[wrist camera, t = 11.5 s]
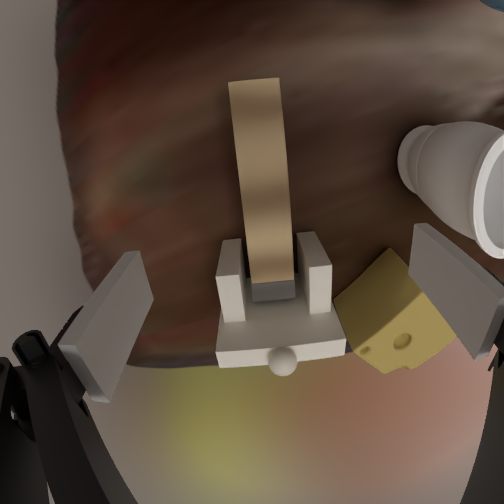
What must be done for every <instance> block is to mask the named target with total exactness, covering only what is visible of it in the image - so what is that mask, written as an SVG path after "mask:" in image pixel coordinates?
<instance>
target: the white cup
mask: <svg viewBox="0 0 504 504" xmlns="http://www.w3.org/2000/svg"><path fill="white" fill-rule="evenodd" d="M397 163H398V170H399V174H400V177H401V179H402V181H403V183H404V184H405V185H406V187H407V188H408V189H409V190H411V191H412V192H413V193H415V194H417V195H418V196H419V197H420V198H421V200H422V201H423V202H424V203H425V204H426V205H427V206H428V207H429V208H430V209H431V210H432V211H433V212H434V213H435V214H436V215H437V216H438V217H439V218H440V219H441V220H442V221H443V222H444V223H446V224H447V225H448V226H450V227H451V228H453V229H454V230H456V231H458V232H459V233H461V234H463V235H465V236H467V237H469V238H472V239H474V240H476V242H477V244H478V245H479V246H480V247H481V248H482V249H483V250H484V251H485V252H486V253H487V254H489V255H490V256H492V257H495V258H500V259H501V258H504V131H503V130H501V129H499V128H496V127H494V126H491V125H487V124H484V123H479V122H470V121H462V122H454V123H446V124H439V125H436V126H429V125H424V126H419V127H417V128H415V129H413V130H412V131H410V132H409V133H408V134H407V135H406V136H405V138H404V139H403V141H402V143H401V145H400V148H399V152H398V159H397Z"/></svg>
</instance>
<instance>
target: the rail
mask: <svg viewBox="0 0 504 504" xmlns="http://www.w3.org/2000/svg"><path fill="white" fill-rule="evenodd" d="M228 87H229V96H230V105H231V113H232V122H233V131H234V139H235V148H236V156H237V165H238V173H239V182H240V190H241V199H242V207H243V216H244V224H245V232H246V241H247V249H248V257H249V266H250V274H251V287H252V295H253V302H258V301H269V300H279V299H289V298H295V279H294V265H293V245H292V227H291V210H290V195H289V181H288V168H287V156H286V144H285V133H284V122H283V112H282V102H281V92H280V83H279V78H266V79H254V80H244V81H235V82H228Z"/></svg>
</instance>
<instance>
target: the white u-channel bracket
mask: <svg viewBox="0 0 504 504" xmlns="http://www.w3.org/2000/svg"><path fill="white" fill-rule="evenodd" d="M296 238H297V259H298V273H294V279H295V298H289V299H279V300H269V301H258V302H253V295H252V287H251V278H246V272H245V264H244V256H243V249H242V241H241V238H240V239H230V240H223V242H222V247H221V252H220V257H219V262H218V267H217V272H216V281H217V287H218V292H219V297H220V302H221V314H220V321H219V329H218V337H217V345H216V356H217V359H218V363H219V367H220V368H228V367H245V366H258V365H269V368H270V369H271V371H272V372H273V373H275V374H277V375H279V376H286V375H289V374H291V373H292V372H293V371H294V370H295V369H296V366H297V362H298V361H307V360H314V359H322V358H329V357H335V356H342V355H344V353H345V345H346V337H345V334H344V332H343V329H342V326H341V324H340V321H339V319H338V316H337V314H336V311H335V308H334V306H333V303H332V301H331V287H332V264H331V262H330V260H329V258H328V256H327V254H326V252H325V251H324V249H323V247H322V245H321V243H320V241H319V239H318V237H317V235H316V234H315V232H314V231H311V232H301V233H296Z"/></svg>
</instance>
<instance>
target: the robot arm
mask: <svg viewBox="0 0 504 504" xmlns="http://www.w3.org/2000/svg"><path fill="white" fill-rule="evenodd" d="M480 1H481V2H482V3H484V4H485V5H487V6H489V7H491V8H493V9H495V10H499V11H502V12H504V0H480ZM408 274H409V276H410V277H411V278H412V279H413V280H414V282H415V283H416V284H417V285H418V286H419V288H420V289H421V290H422V291H423V293H424V294H425V295H426V296H427V297H428V299H429V300H430V301H431V302H432V304H433V305H434V306H435V308H436V309H437V310H438V311H439V313H440V314H441V315H442V317H443V318H444V319H445V321H446V322H447V323H448V325H449V326H450V327H451V329H452V330H453V331H454V333H455V334H456V335H457V337H458V338H459V339H460V341H461V342H462V344H463V345H464V346H465V348H466V349H467V351H468V352H469V353H470V355H471V356H472V358H473V359H474V360H478V359H480V358H483V357H486V356H488V355H489V353H490V351H491V348H492V346H493V344H495V345H496V346H497V348H498V350H497V352H496V354H495V356H494V359H493V360H492V362H491V364H490V366H489V368H488V371H490V370H491V368H492V367H493V366H494V370H493V379H492V386H491V393H490V399H489V405H488V410H487V415H486V420H485V425H484V429H483V434H482V438H481V442H480V445H479V449H478V453H477V457H476V460H475V463H474V466H473V469H472V473H471V475H470V478H469V481H468V485H467V487H466V490H465V492H464V495H463V497H462V500H461V503H460V504H504V283H503V282H501V281H500V280H499V279H498V278H497V277H495V275H494V274H492V273H491V272H490V271H489V270H488V269H486V268H484V267H482V266H480V265H479V264H478V263H477V262H476V261H474V260H473V259H472V258H471V257H470V256H468V255H467V254H466V253H465V252H464V251H462V250H461V249H460V248H459V247H457V246H456V245H455V244H454V243H452V242H451V241H450V240H449V239H447V238H446V237H445V236H443V235H442V234H441V233H439V232H438V231H437V230H436V229H434V228H433V227H432V226H430V225H429V224H427V223H420V224H414V232H413V241H412V249H411V257H410V264H409V271H408ZM153 300H154V299H153V295H152V292H151V289H150V286H149V282H148V279H147V276H146V272H145V269H144V265H143V262H142V258H141V254H140V251H131V252H125V253H124V254H123V256H122V257H121V258H120V259H119V261H118V262H117V263H116V264H115V266H114V267H113V268H112V269H111V271H110V272H109V273H108V275H107V276H106V277H105V279H104V280H103V281H102V282H101V284H100V285H99V286H98V288H97V289H96V290H95V292H94V293H93V294H92V296H91V297H90V299H89V300H88V301H87V303H86V304H85V305H84V306H81V307H80V308H79V309H78V310H77V311H75V312H74V313H73V314H72V316H71V317H70V318H69V320H68V323H66V324H65V325H64V327H63V329H62V330H61V331H60V333H59V334H58V336H57V337H56V338H55V340H54V341H53V343H52V344H51V346H50V347H49V345H48V344H47V342H46V340H45V338H44V336H43V335H42V333H41V331H38V330H31V331H28V332H25V333H24V334H22V335H21V336H19V337H18V338H17V339H16V340H15V342H14V343H13V346H12V350H13V352H14V354H15V355H16V357H17V358H18V360H19V361H20V363H21V365H22V366H17V367H13V366H12V364H11V362H10V361H9V359H8V358H6V357H0V504H49V496H48V488H47V482H48V485H49V488H50V491H51V494H52V497H53V499H54V502H55V504H138V503H137V501H136V500H135V498H134V497H133V495H132V493H131V492H130V490H129V488H128V487H127V485H126V484H125V482H124V480H123V478H122V476H121V475H120V473H119V471H118V469H117V468H116V466H115V464H114V462H113V460H112V458H111V456H110V454H109V452H108V450H107V448H106V446H105V445H104V442H103V440H102V438H101V436H100V434H99V432H98V430H97V428H96V425H95V423H94V421H93V419H92V416H91V414H90V411H89V409H88V407H87V404H86V402H85V401H84V400H83V399H82V397H83V395H84V393H85V391H87V393H88V394H89V396H90V397H91V399H92V400H93V401H100V402H108V403H110V401H111V399H112V397H113V394H114V391H115V389H116V386H117V384H118V381H119V379H120V376H121V374H122V371H123V369H124V366H125V364H126V362H127V359H128V357H129V355H130V352H131V350H132V347H133V345H134V343H135V340H136V338H137V336H138V334H139V331H140V329H141V327H142V325H143V322H144V320H145V318H146V316H147V313H148V311H149V309H150V307H151V305H152V302H153ZM11 411H12V412H13V413H14V419H12V417H11Z"/></svg>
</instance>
